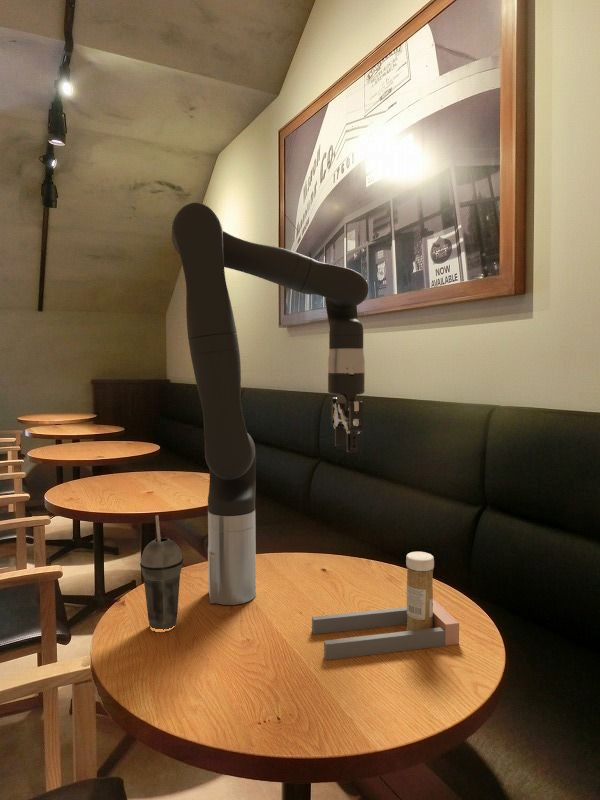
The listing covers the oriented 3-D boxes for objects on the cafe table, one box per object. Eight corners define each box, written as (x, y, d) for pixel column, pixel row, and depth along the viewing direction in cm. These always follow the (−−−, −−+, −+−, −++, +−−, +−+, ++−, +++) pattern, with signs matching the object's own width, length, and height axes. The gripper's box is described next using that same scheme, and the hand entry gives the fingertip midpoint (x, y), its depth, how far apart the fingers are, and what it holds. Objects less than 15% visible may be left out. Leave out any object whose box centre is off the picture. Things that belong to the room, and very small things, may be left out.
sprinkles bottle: (438, 634, 90) (439, 556, 89) (419, 642, 88) (420, 562, 87) (418, 623, 94) (419, 548, 93) (400, 630, 92) (400, 553, 91)
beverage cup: (192, 620, 96) (190, 510, 95) (169, 639, 89) (167, 521, 88) (157, 614, 98) (155, 506, 97) (132, 632, 91) (129, 517, 90)
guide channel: (326, 660, 82) (326, 638, 82) (311, 631, 92) (311, 611, 91) (458, 643, 87) (459, 623, 87) (432, 617, 96) (433, 598, 96)
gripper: (320, 371, 116) (320, 445, 117) (338, 371, 103) (338, 455, 104) (353, 370, 118) (352, 443, 119) (375, 371, 104) (375, 454, 105)
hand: (346, 449), depth 111 cm, fingers open, 8 cm apart
